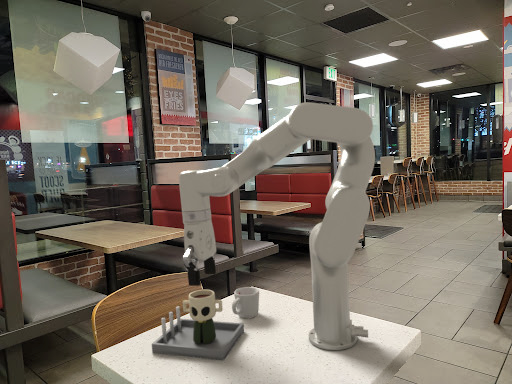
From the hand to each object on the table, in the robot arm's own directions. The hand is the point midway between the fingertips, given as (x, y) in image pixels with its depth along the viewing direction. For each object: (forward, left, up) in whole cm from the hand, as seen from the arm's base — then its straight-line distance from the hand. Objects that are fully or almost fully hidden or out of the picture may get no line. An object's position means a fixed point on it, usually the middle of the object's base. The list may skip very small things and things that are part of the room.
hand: (203, 279), depth 100 cm
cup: (-5, -18, -18) cm, 26 cm away
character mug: (0, +1, -17) cm, 17 cm away
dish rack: (+2, 0, -18) cm, 18 cm away
